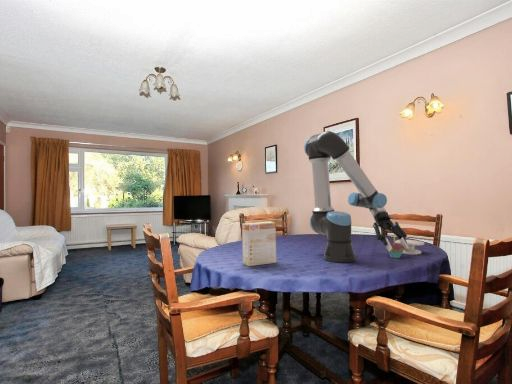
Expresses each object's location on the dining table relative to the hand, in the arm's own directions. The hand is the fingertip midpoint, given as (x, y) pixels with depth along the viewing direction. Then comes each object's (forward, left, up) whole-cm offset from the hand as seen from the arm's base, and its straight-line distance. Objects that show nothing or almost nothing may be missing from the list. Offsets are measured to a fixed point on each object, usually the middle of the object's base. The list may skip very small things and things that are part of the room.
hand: (399, 249), depth 150 cm
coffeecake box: (-63, -31, -4) cm, 70 cm away
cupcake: (-2, +3, -4) cm, 6 cm away
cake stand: (+6, +17, -4) cm, 19 cm away
